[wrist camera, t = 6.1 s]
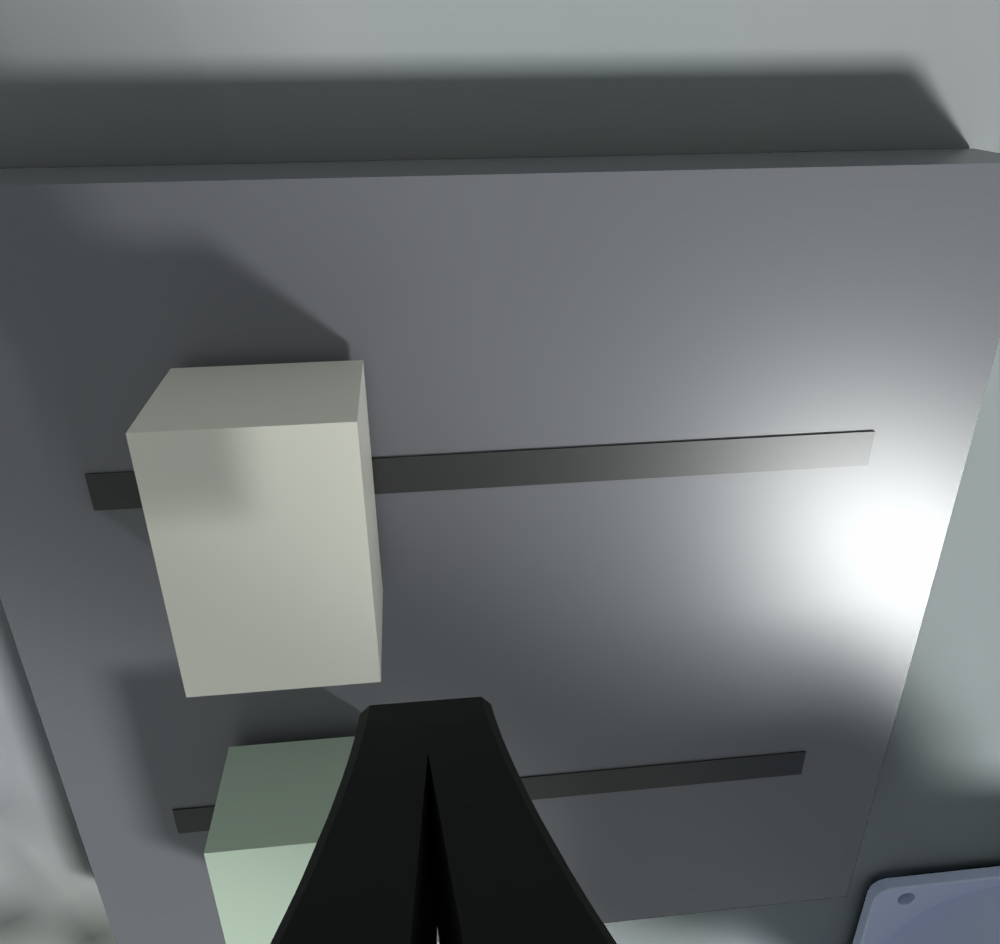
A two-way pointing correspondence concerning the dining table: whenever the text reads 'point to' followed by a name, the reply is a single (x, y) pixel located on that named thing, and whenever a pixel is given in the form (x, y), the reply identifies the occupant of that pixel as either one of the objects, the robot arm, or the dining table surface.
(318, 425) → the block
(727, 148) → the dining table surface
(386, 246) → the console
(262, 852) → the sage fader
